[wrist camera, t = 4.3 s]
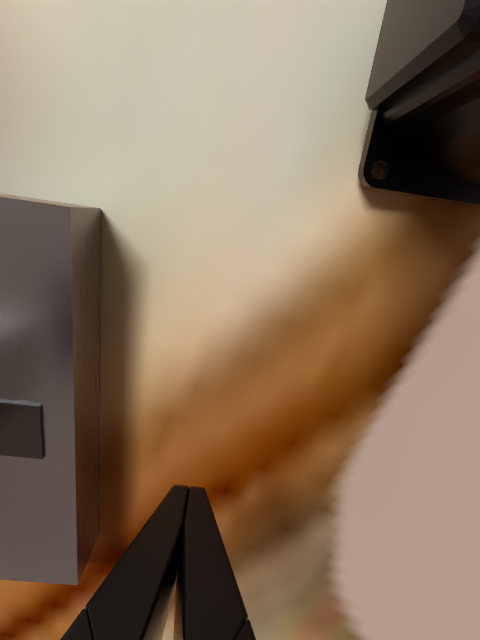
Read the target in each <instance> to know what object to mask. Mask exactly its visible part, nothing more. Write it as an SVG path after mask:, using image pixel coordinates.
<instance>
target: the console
mask: <svg viewBox="0 0 480 640" xmlns="http://www.w3.org/2000/svg"><path fill="white" fill-rule="evenodd" d="M100 260H101V209H100V208H93V207H86V206H79V205H73V204H66V203H59V202H52V201H45V200H39V199H32V198H25V197H18V196H11V195H5V194H0V580H13V581H27V582H41V583H56V584H70V585H78V583H79V581H80V578H81V576H82V573H83V571H84V569H85V566H86V564H87V561H88V559H89V557H90V554H91V552H92V550H93V547H94V545H95V542H96V540H97V538H98V494H99V377H100Z"/></svg>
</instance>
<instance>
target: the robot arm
mask: <svg viewBox="0 0 480 640" xmlns="http://www.w3.org/2000/svg"><path fill="white" fill-rule="evenodd" d="M365 100H366V102H367V105H368V107H369V110H372V114H371V118H370V122H369V127H368V131H367V135H366V139H365V144H364V148H363V152H362V157H361V161H360V165H359V171H358V177H359V180H360V183H361V184H362V185H363V186H364V187H366V188H368V189H372V190H378V191H385V192H391V193H397V194H403V195H410V196H416V197H422V198H428V199H435V200H441V201H447V202H454V203H460V204H466V205H472V206H479V207H480V0H387V4H386V8H385V13H384V17H383V22H382V26H381V31H380V35H379V39H378V44H377V48H376V53H375V57H374V62H373V66H372V70H371V75H370V79H369V84H368V88H367V93H366V97H365ZM376 162H377V163H379V164H381V166H382V168H383V173H382V175H381V177H380V178H379V179H376V178H374V177H373V175H372V167H373V165H374V163H376ZM177 572H178V573H177ZM176 577H177V582H176ZM175 583H176V595H175V618H174V640H256V638H255V635H254V632H253V629H252V626H251V623H250V621H249V620H248V615H247V612H246V609H245V606H244V603H243V600H242V597H241V594H240V591H239V588H238V585H237V582H236V579H235V576H234V573H233V570H232V567H231V564H230V561H229V558H228V555H227V552H226V549H225V546H224V543H223V541H222V538H221V535H220V532H219V529H218V526H217V523H216V520H215V517H214V514H213V511H212V508H211V505H210V502H209V499H208V496H207V493H206V490H205V488H203V487H196V486H191V487H190V488H189V487H188V486H185V485H174V486H173V487H172V488H171V489H170V491H169V492H168V493H167V495H166V496H165V498H164V499H163V500H162V502H161V503H160V504H159V506H158V507H157V508H156V510H155V511H154V513H153V514H152V515H151V517H150V518H149V519H148V521H147V522H146V524H145V525H144V526H143V528H142V529H141V530H140V532H139V533H138V535H137V536H136V537H135V539H134V540H133V541H132V543H131V544H130V546H129V547H128V548H127V550H126V551H125V552H124V554H123V555H122V556H121V558H120V559H119V561H118V562H117V563H116V565H115V566H114V567H113V569H112V570H111V572H110V573H109V574H108V576H107V577H106V578H105V580H104V581H103V583H102V584H101V585H100V587H99V588H98V589H97V591H96V592H95V594H94V595H93V596H92V598H91V599H90V600H89V602H88V603H87V605H86V609H83V610H82V611H81V612H80V614H79V615H78V617H77V618H76V619H75V621H74V622H73V623H72V625H71V626H70V628H69V629H68V630H67V632H66V633H65V634H64V635H63V637H62V638H61V639H60V640H162V636H163V632H164V628H165V624H166V620H167V616H168V612H169V608H170V604H171V600H172V596H173V592H174V588H175Z"/></svg>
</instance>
